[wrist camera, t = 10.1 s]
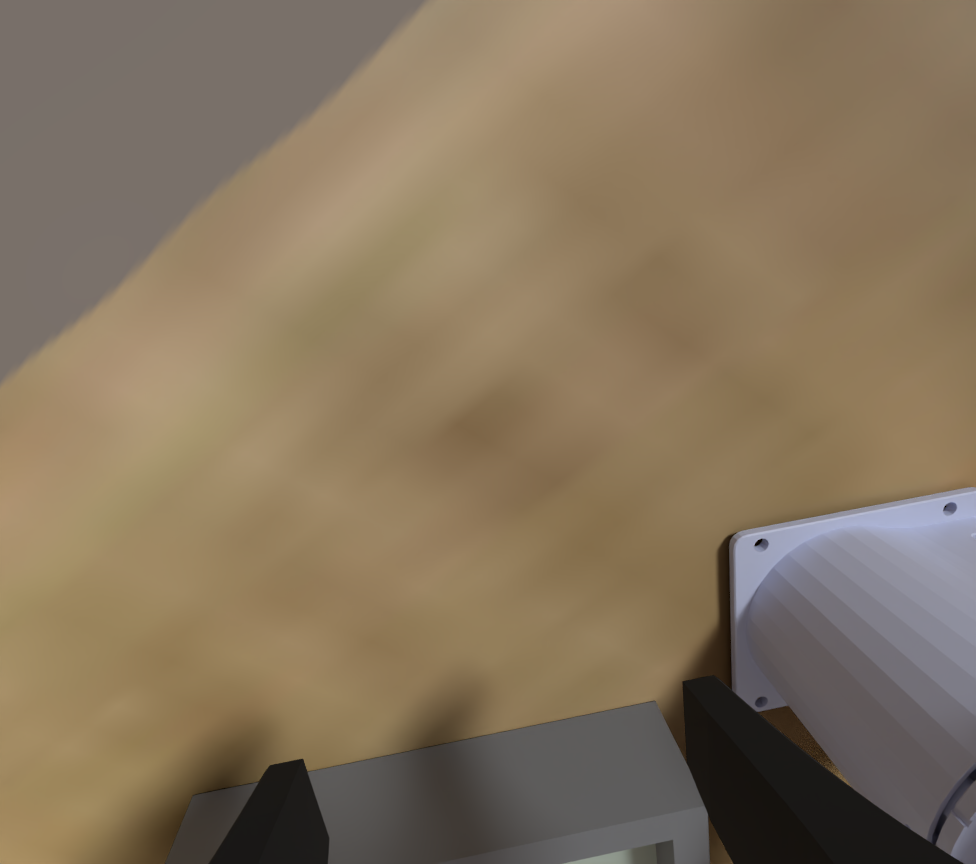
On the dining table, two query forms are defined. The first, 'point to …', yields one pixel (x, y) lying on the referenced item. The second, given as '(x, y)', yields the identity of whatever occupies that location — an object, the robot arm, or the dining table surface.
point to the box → (500, 800)
